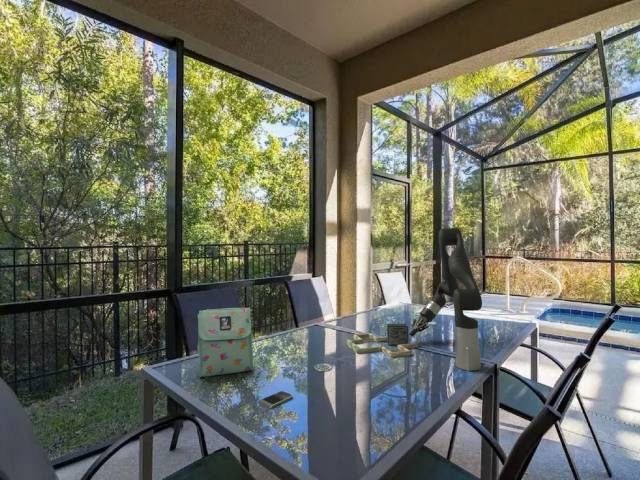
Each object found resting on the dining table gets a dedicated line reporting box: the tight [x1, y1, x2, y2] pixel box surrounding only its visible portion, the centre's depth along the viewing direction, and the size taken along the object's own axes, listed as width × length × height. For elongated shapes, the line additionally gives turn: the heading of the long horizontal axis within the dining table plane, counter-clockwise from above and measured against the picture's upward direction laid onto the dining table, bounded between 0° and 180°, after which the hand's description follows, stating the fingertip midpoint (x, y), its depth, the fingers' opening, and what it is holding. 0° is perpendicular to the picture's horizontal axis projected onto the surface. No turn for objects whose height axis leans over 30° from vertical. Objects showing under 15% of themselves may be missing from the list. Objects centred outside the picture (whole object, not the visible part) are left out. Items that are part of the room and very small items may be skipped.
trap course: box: [345, 332, 419, 358], centre depth 181 cm, size 37×33×3 cm
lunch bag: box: [197, 307, 254, 378], centre depth 149 cm, size 23×16×27 cm
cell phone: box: [258, 391, 294, 410], centre depth 118 cm, size 6×11×1 cm, turn 138°
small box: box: [386, 323, 409, 347], centre depth 183 cm, size 11×6×10 cm, turn 84°
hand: (410, 335), depth 185 cm, fingers closed
